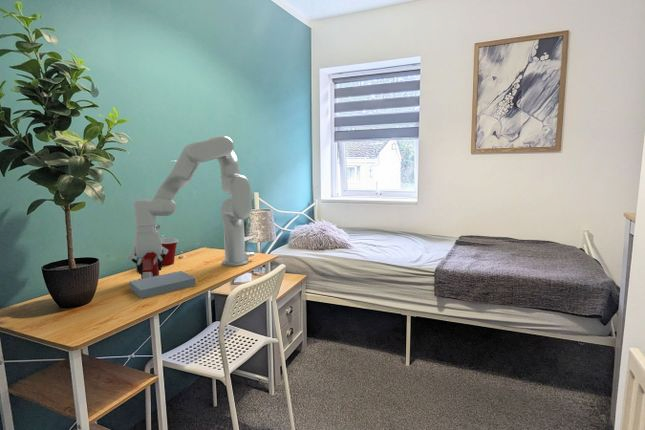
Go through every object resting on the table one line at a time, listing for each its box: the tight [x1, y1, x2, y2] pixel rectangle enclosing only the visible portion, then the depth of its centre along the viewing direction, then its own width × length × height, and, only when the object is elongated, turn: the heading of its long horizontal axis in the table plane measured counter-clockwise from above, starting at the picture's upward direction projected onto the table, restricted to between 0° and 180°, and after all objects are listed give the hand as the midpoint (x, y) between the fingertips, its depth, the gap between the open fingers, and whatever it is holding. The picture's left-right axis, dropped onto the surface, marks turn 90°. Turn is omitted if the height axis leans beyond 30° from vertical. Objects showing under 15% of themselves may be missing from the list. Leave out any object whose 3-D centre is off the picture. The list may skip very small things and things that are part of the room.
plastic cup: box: [160, 237, 179, 266], centre depth 173 cm, size 11×11×12 cm
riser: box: [128, 270, 197, 299], centre depth 139 cm, size 20×14×3 cm
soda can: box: [140, 251, 160, 279], centre depth 149 cm, size 7×7×12 cm
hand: (149, 271), depth 150 cm, fingers closed on soda can, 6 cm apart
